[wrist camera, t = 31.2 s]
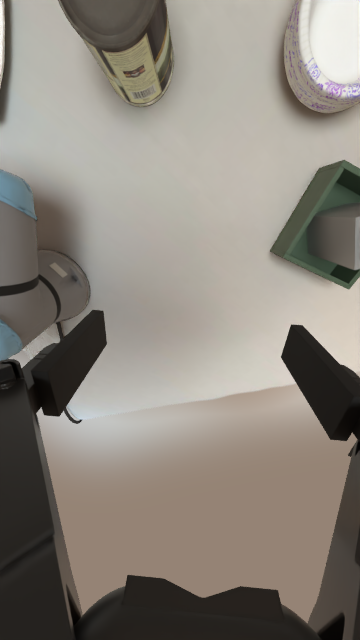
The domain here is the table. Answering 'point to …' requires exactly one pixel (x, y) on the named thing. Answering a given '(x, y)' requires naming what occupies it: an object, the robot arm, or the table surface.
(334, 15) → the paper bowls
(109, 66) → the coffee can
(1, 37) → the plate
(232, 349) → the table surface
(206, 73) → the table surface
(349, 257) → the perfume bottle
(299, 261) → the tote
